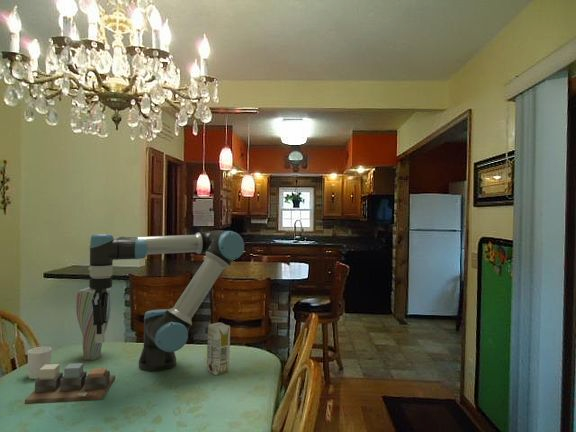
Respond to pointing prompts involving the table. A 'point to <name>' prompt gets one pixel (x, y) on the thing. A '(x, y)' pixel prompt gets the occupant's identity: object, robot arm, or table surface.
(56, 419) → the table surface
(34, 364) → the white cup
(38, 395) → the board
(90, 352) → the vase
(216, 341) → the juice carton
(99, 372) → the terracotta key
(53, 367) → the cream key
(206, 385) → the table surface
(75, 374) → the slate key
